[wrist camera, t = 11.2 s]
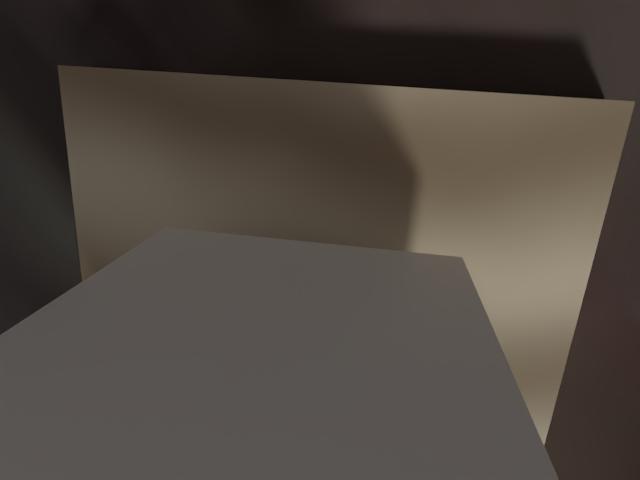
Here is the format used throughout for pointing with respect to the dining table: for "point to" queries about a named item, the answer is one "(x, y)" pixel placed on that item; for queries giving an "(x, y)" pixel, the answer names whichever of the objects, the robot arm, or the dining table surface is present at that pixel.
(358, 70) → the dining table surface
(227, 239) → the matte grey cube
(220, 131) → the post stand
